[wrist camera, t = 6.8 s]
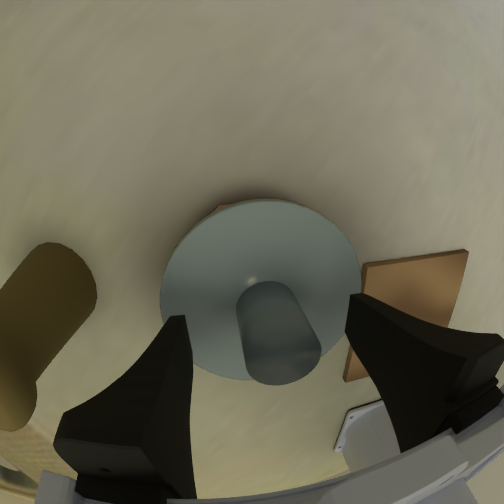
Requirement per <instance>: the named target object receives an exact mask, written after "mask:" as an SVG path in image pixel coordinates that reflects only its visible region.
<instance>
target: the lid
mask: <svg viewBox="0 0 504 504" xmlns="http://www.w3.org/2000/svg"><path fill="white" fill-rule="evenodd" d="M356 293H361V271H360V266H359V262H358V259H357V256H356V253H355V251H354V249H353V247H352V245H351V243H350V242H349V240H348V239H347V238H346V236H345V235H344V234H343V232H342V231H340V230H339V229H338V228H337V227H336V226H335V225H334V224H333V223H332V222H330V221H329V220H327V219H326V218H324V217H323V216H322V215H320V214H319V213H317V212H316V211H314V210H312V209H310V208H308V207H306V206H304V205H301V204H298V203H295V202H291V201H287V200H281V199H266V198H261V199H252V200H245V201H241V202H237V203H233V204H230V205H228V206H226V207H223V208H221V209H218V210H216V211H215V212H213V213H211V214H209V215H208V216H206V217H204V218H203V219H202V220H201V221H199V222H198V223H197V224H195V225H194V226H193V227H192V228H191V229H190V230H189V231H188V232H187V233H186V234H185V235H184V236H183V238H182V239H181V240H180V242H179V243H178V244H177V246H176V247H175V249H174V251H173V253H172V255H171V257H170V259H169V262H168V264H167V267H166V270H165V273H164V277H163V280H162V285H161V291H160V309H161V316H162V320H163V323H164V324H165V323H166V321H167V320H168V318H169V317H170V316H173V315H185V318H186V323H187V328H188V333H189V338H190V342H191V347H192V351H193V363H194V364H196V365H197V366H199V367H201V368H203V369H205V370H207V371H209V372H211V373H214V374H217V375H219V376H223V377H227V378H232V379H239V380H256V381H258V382H260V383H263V384H267V385H284V384H288V383H292V382H294V381H297V380H299V379H301V378H303V377H304V376H306V375H307V374H308V373H310V372H311V371H312V370H313V369H314V368H315V366H316V365H317V363H318V362H319V360H320V357H321V356H323V355H324V354H325V353H327V352H328V351H329V350H330V349H331V348H332V347H333V346H334V345H335V344H336V343H337V342H338V340H339V339H340V338H341V337H342V336H343V334H344V333H345V325H346V319H347V313H348V306H349V299H350V294H356Z"/></svg>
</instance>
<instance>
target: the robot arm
mask: <svg viewBox="0 0 504 504" xmlns="http://www.w3.org/2000/svg"><path fill="white" fill-rule="evenodd" d="M345 333H346V335H347V338H348V340H349V342H350V345H351V347H352V349H353V350H354V352H355V354H356V355H357V357H358V358H359V360H360V362H361V363H362V365H363V366H364V368H365V369H366V371H367V372H368V374H369V376H370V377H371V379H372V380H373V382H374V384H375V386H376V387H377V389H378V391H379V393H380V396H381V398H382V400H381V401H378V402H375V403H372V404H369V405H366V406H363V407H359V408H356V409H353V410H350V411H349V412H348V413H347V415H346V418H345V421H344V424H343V427H342V429H341V432H340V435H339V437H338V440H337V443H336V445H335V448H334V452H335V453H337V452H340V451H342V453H343V455H344V457H345V460H346V462H347V465H348V467H349V469H350V471H351V473H350V474H347V475H344V476H340V477H337V478H334V479H330V480H327V481H323V482H319V483H315V484H311V485H307V486H303V487H298V488H293V489H289V490H283V491H278V492H272V493H266V494H259V495H251V496H242V497H231V498H216V499H197V495H196V488H195V481H194V473H193V464H192V453H191V441H190V404H191V392H192V381H193V351H192V347H191V342H190V338H189V333H188V328H187V323H186V318H185V315H173V316H170V317H169V318H168V320H167V321H166V323H165V324H164V326H163V327H162V329H161V330H160V331H159V333H158V334H157V336H156V337H155V338H154V340H153V341H152V343H151V344H150V345H149V347H148V348H147V349H146V350H145V352H144V353H143V354H142V355H141V356H140V358H139V359H138V360H137V361H136V362H135V363H134V364H133V365H132V366H131V367H130V368H129V369H128V370H127V371H126V372H125V373H124V374H123V375H122V376H121V377H120V378H118V379H117V380H116V381H115V382H113V383H112V384H111V385H110V386H108V387H107V388H106V389H105V390H103V391H102V392H100V393H99V394H97V395H96V396H94V397H92V398H91V399H89V400H88V401H86V402H84V403H82V404H80V405H78V406H76V407H74V408H72V409H70V410H68V411H66V412H64V413H63V415H62V418H61V420H60V423H59V426H58V429H57V432H56V435H55V439H54V442H53V446H54V449H55V451H56V452H57V453H58V455H59V456H60V457H61V458H62V459H63V460H64V461H65V462H66V463H67V464H68V465H69V466H70V467H72V468H73V469H74V470H75V471H76V472H77V473H78V476H77V481H76V480H75V479H73V478H70V477H68V476H64V475H61V474H57V473H54V472H50V471H47V470H42V474H41V478H40V482H39V486H38V490H37V494H36V499H35V504H478V503H477V501H476V499H475V498H474V496H473V494H472V492H471V491H470V489H469V487H468V486H467V484H466V482H467V481H468V480H470V479H471V478H472V477H473V476H475V475H476V474H477V473H479V472H480V471H481V470H482V469H483V468H485V467H486V466H487V465H488V464H489V463H491V462H492V461H493V460H494V459H495V458H496V457H497V456H499V455H500V454H501V453H502V452H503V451H504V385H503V386H502V387H501V388H500V389H499V388H498V387H497V386H496V385H497V384H498V379H497V378H496V377H495V375H496V374H497V372H498V370H499V368H500V366H501V365H502V363H503V361H504V339H503V338H502V337H501V336H500V335H498V334H490V333H474V332H466V331H460V330H455V329H451V328H446V327H442V326H439V325H435V324H432V323H429V322H426V321H424V320H421V319H418V318H416V317H414V316H411V315H409V314H407V313H405V312H402V311H400V310H398V309H396V308H394V307H392V306H390V305H388V304H386V303H384V302H382V301H380V300H378V299H376V298H374V297H372V296H369V295H367V294H364V293H356V294H350V299H349V306H348V313H347V319H346V325H345Z"/></svg>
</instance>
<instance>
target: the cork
mask: <svg viewBox="0 0 504 504" xmlns="http://www.w3.org/2000/svg"><path fill="white" fill-rule="evenodd" d="M96 300H97V292H96V284H95V281H94V279H93V276H92V273H91V271H90V270H89V268H88V267H87V265H86V264H85V262H84V261H83V259H82V258H80V257H79V256H78V255H77V254H76V253H75V252H74V251H73V250H71V249H69V248H67V247H65V246H63V245H61V244H58V243H50V242H47V243H44V244H41V245H38V246H37V247H36V248H34V249H33V250H32V251H31V252H30V253H29V254H28V256H27V257H26V258H25V259H24V260H23V262H22V263H21V264H20V265H19V266H18V268H17V269H16V270H15V271H14V273H13V274H12V275H11V276H10V278H9V279H8V280H7V281H6V283H5V284H4V285H3V287H2V288H1V289H0V430H4V431H9V432H12V431H17V430H19V429H21V428H23V427H24V426H25V425H26V424H27V423H28V421H29V420H30V418H31V416H32V414H33V412H34V410H35V407H36V401H37V387H36V381H37V379H38V378H39V377H40V375H41V374H42V373H43V372H44V370H45V369H46V368H47V366H48V365H49V364H50V363H51V361H52V360H53V359H54V358H55V356H56V355H57V354H58V353H59V351H60V350H61V349H62V348H63V346H64V345H65V344H66V343H67V342H68V340H69V339H70V338H71V337H72V336H73V334H74V333H75V332H76V331H77V330H78V328H79V327H80V326H81V325H82V324H83V323H84V322H85V320H86V319H87V318H88V317H89V316H90V314H91V313H92V311H93V310H94V309H95V304H96Z"/></svg>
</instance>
